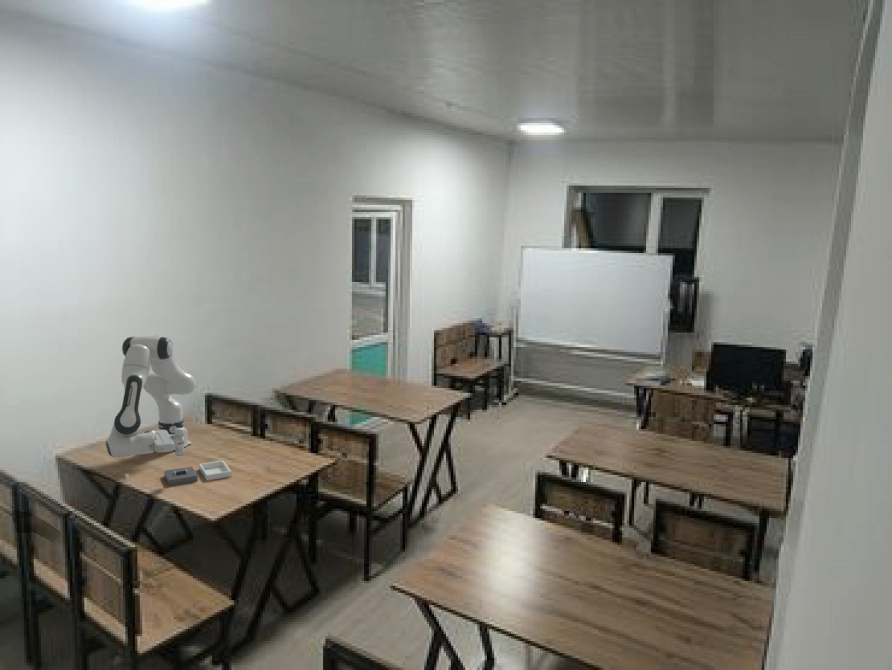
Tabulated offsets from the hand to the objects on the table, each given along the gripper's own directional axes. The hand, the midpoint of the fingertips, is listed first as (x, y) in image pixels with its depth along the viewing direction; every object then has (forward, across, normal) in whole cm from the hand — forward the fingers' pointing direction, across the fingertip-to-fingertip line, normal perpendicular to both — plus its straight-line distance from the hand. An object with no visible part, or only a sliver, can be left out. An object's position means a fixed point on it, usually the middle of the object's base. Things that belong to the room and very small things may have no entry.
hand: (181, 438), depth 292 cm
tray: (+14, 0, +20) cm, 24 cm away
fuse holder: (-1, 0, +20) cm, 20 cm away
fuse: (-1, 0, +8) cm, 8 cm away
